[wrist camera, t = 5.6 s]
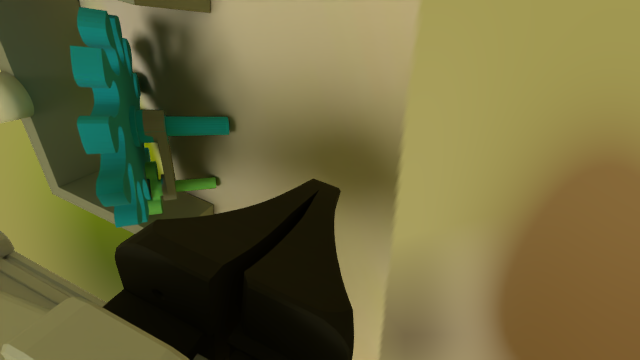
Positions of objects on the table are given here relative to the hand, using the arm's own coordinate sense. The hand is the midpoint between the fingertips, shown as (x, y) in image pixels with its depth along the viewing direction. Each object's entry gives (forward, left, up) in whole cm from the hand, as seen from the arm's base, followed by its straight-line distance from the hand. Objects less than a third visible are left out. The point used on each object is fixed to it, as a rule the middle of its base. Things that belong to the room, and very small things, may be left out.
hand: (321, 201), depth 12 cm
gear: (0, +10, -3) cm, 11 cm away
